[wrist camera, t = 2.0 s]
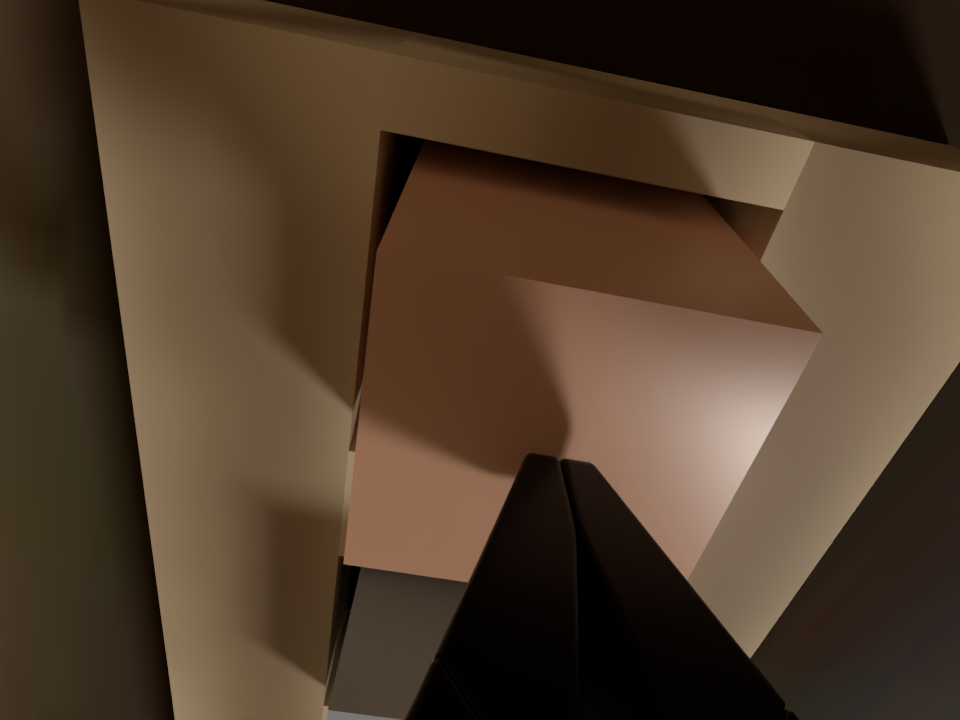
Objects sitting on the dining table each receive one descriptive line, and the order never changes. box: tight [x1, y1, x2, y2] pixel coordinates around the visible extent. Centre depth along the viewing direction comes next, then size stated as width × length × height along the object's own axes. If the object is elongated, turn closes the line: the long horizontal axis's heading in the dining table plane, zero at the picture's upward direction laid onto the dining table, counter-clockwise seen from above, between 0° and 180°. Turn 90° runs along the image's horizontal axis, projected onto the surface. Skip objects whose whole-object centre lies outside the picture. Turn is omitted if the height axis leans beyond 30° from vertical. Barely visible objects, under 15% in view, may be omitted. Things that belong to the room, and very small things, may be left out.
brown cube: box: [343, 140, 823, 582], centre depth 10 cm, size 5×5×5 cm
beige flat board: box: [79, 0, 960, 720], centre depth 17 cm, size 14×26×3 cm, turn 169°
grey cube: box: [327, 567, 468, 720], centre depth 15 cm, size 5×5×5 cm
